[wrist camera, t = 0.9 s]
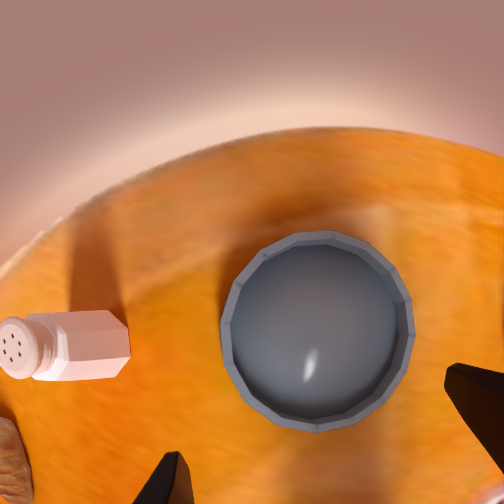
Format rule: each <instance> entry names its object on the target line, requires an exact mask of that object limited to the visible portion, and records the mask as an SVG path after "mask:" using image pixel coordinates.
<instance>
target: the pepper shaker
mask: <svg viewBox="0 0 504 504" xmlns="http://www.w3.org/2000/svg"><path fill="white" fill-rule="evenodd" d="M130 357H131V354H130V345H129V336H128V328H127V327H126V326H125V325H124V324H122V323H121V322H120V321H119V320H118V319H117V318H116V317H115V316H114V315H113V314H112V313H111V312H110V311H109V310H94V311H76V312H56V313H35V314H28V316H27V317H26V319H22V318H19V317H8V318H6V319H4V320H3V321H2V322H1V323H0V365H1V367H2V368H3V370H4V371H5V372H6V373H7V374H8V375H10V376H11V377H14V378H16V379H24V378H27V377H30V376H32V377H33V378H34V379H36V380H47V381H71V380H86V379H98V378H109V377H115V376H116V375H117V374H118V373H119V371H120V370H121V369H122V367H123V366H124V365H125V364H126V362H127V361H128V360H129V358H130Z"/></svg>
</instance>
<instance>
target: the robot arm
mask: <svg viewBox="0 0 504 504" xmlns="http://www.w3.org/2000/svg"><path fill="white" fill-rule="evenodd" d="M444 388H445V391H446V393H447V394H448V396H449V397H450V399H451V401H452V402H453V404H454V405H455V407H456V409H457V410H458V412H459V414H460V415H461V417H462V418H463V420H464V421H465V423H466V424H467V425H468V427H469V428H470V429H471V431H472V432H473V433H474V435H475V436H476V437H477V439H478V440H479V441H480V443H481V444H482V445H483V447H484V448H485V449H486V451H487V452H488V453H489V455H490V456H491V457H492V459H493V460H494V461H495V463H496V464H497V466H498V467H499V468H500V470H501V471H502V472H503V474H504V373H500V372H496V371H491V370H487V369H483V368H479V367H474V366H470V365H466V364H462V363H455V364H453V365H451V366H449V367H448V368H447V371H446V377H445V382H444ZM132 504H194V498H193V491H192V484H191V477H190V471H189V467H188V465H187V463H186V462H185V460H184V458H183V456H182V455H181V453H180V452H178V451H174V452H167V453H165V455H164V456H163V458H162V459H161V461H160V462H159V464H158V465H157V467H156V468H155V470H154V471H153V473H152V475H151V476H150V478H149V479H148V481H147V482H146V484H145V485H144V487H143V488H142V490H141V491H140V493H139V494H138V496H137V497H136V499H135V500H134V502H133V503H132Z"/></svg>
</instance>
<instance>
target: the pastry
mask: <svg viewBox="0 0 504 504" xmlns="http://www.w3.org/2000/svg"><path fill="white" fill-rule="evenodd" d="M0 495H1V496H2V497H3V498H4V499H5V500H6V501H8V502H9V503H11V504H31V503H32V502H33V500H34V496H33V489H32V484H31V467H30V465H29V464H28V461H27V457H26V454H25V451H24V447H23V444H22V441H21V438H20V435H19V433H18V431H17V429H16V426H15V424H14V423H13V422H12V421H11V420H9V419H7V418H4V417H0Z"/></svg>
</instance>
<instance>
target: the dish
mask: <svg viewBox="0 0 504 504" xmlns="http://www.w3.org/2000/svg"><path fill="white" fill-rule="evenodd" d="M220 327H221V329H220V334H221V348H222V354H223V360H224V366H225V368H226V370H227V372H228V373H229V375H230V377H231V379H232V381H233V383H234V384H235V386H236V388H237V389H238V391H239V393H240V395H241V397H242V398H243V400H244V402H246V403H247V404H248V405H250V406H251V407H252V408H254V409H255V410H256V411H258V412H259V413H260V414H262V415H263V416H265V417H266V418H267V419H269V420H270V421H272V422H273V423H274V424H276V425H277V426H282V427H287V428H291V429H296V430H301V431H307V432H312V433H320V432H325V431H330V430H334V429H339V428H343V427H347V426H351V425H354V424H356V423H358V422H359V421H360V420H362V419H363V418H365V417H366V416H368V415H369V414H371V413H372V412H374V411H375V410H376V409H378V408H379V407H381V406H382V405H383V404H385V403H386V401H387V400H388V399H389V397H390V396H391V394H392V393H393V391H394V390H395V388H396V387H397V385H398V384H399V382H400V381H401V379H402V378H403V376H404V375H405V373H406V372H407V368H408V364H409V360H410V356H411V352H412V348H413V344H414V339H415V326H414V317H413V309H412V301H411V297H410V295H409V293H408V291H407V289H406V287H405V285H404V283H403V281H402V279H401V277H400V275H399V274H398V272H397V270H396V268H395V266H394V265H393V264H391V263H390V262H389V261H388V260H387V259H386V258H385V257H384V256H383V255H381V254H380V253H379V252H378V251H377V250H376V249H375V248H374V247H372V246H371V245H370V244H369V243H368V242H365V241H362V240H360V239H357V238H354V237H351V236H348V235H346V234H343V233H340V232H337V231H334V230H328V231H310V232H295V233H294V234H292V235H290V236H287V237H285V238H283V239H281V240H279V241H277V242H275V243H273V244H271V245H269V246H267V247H265V248H263V249H261V250H260V251H259V252H258V253H257V254H256V256H255V257H254V258H253V259H252V260H251V261H250V263H249V264H248V265H247V266H246V267H245V268H244V270H243V271H242V272H241V273H240V274H239V275H238V277H237V278H236V279H235V280H234V281H233V284H232V287H231V290H230V292H229V295H228V297H227V300H226V302H225V306H224V310H223V314H222V318H221V321H220Z"/></svg>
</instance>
